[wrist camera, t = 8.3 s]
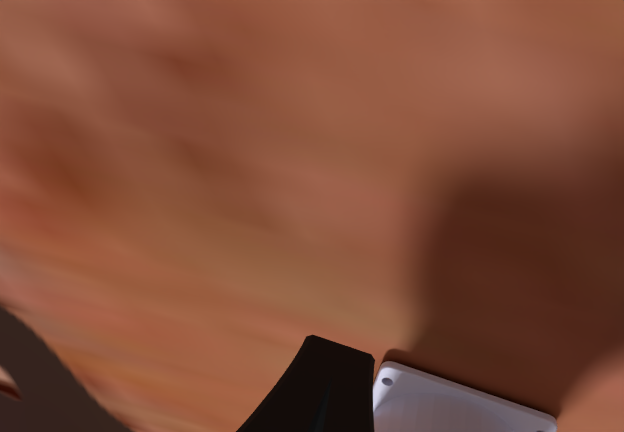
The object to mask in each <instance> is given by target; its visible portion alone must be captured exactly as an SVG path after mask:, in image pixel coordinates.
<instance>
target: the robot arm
mask: <svg viewBox="0 0 624 432" xmlns="http://www.w3.org/2000/svg"><path fill="white" fill-rule="evenodd" d="M374 363H375V359H374V358H373V356H372V355H371V354H368V353H365V352H362V351H360V350H357V349H354V348H351V347H348V346H345V345H342V344H339V343H336V342H333V341H330V340H327V339H324V338H321V337H318V336H315V335H310V336H307V337H306V338H305V340H304V342H303V344H302V346H301V348H300V350H299V351H298V353H297V355H296V356H295V358H294V360H293V361H292V363H291V364H290V366H289V367H288V368H287V370H286V371H285V373H284V374H283V375H282V377H281V378H280V379H279V381H278V382H277V384H276V385H275V386H274V388H273V389H272V390H271V391H270V392H269V394H268V395H267V396H266V397H265V399H264V400H263V401H262V402H261V404H260V405H259V406H258V407H257V408H256V410H255V411H254V412H253V413H252V414H251V416H250V417H249V418H248V419H247V420H246V421H245V422H244V424H243V425H242V426H241V427H240V428H239V429H238V430H237V431H236V432H556V431H557V421H556V419H555V418H554V417H553V416H551V415H549V414H546V413H543V412H540V411H537V410H534V409H531V408H528V407H525V406H522V405H519V404H516V403H513V402H510V401H508V400H505V399H502V398H499V397H496V396H493V395H490V394H487V393H484V392H481V391H478V390H475V389H472V388H469V387H466V386H463V385H461V384H458V383H455V382H452V381H449V380H446V379H443V378H440V377H437V376H434V375H431V374H428V373H425V372H422V371H419V370H416V369H414V368H411V367H408V366H405V365H402V364H399V363H396V362H392V361H386V362H384V363H382V365H381V366H380V369H379V371H378V374H377V376H376V379H375V381H374V384H373V374H374ZM387 378H390V379H387ZM539 430H540V431H539Z"/></svg>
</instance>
